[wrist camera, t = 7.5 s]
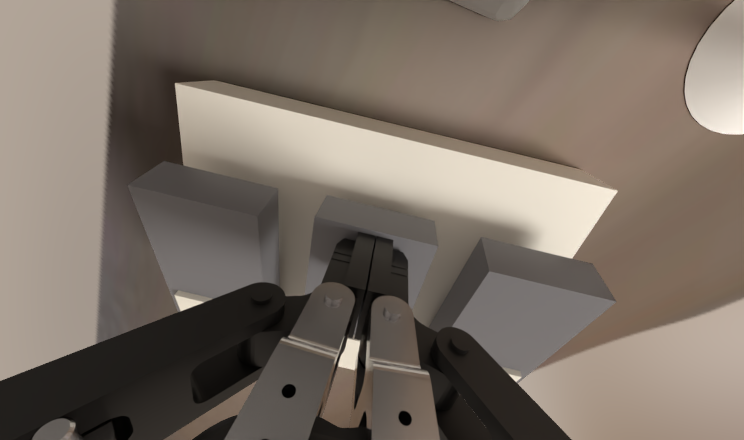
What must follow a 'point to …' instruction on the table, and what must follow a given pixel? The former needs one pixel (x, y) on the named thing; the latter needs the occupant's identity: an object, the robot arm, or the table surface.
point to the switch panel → (384, 179)
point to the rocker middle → (403, 229)
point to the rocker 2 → (522, 303)
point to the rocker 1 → (208, 230)
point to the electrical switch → (494, 7)
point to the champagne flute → (719, 74)
